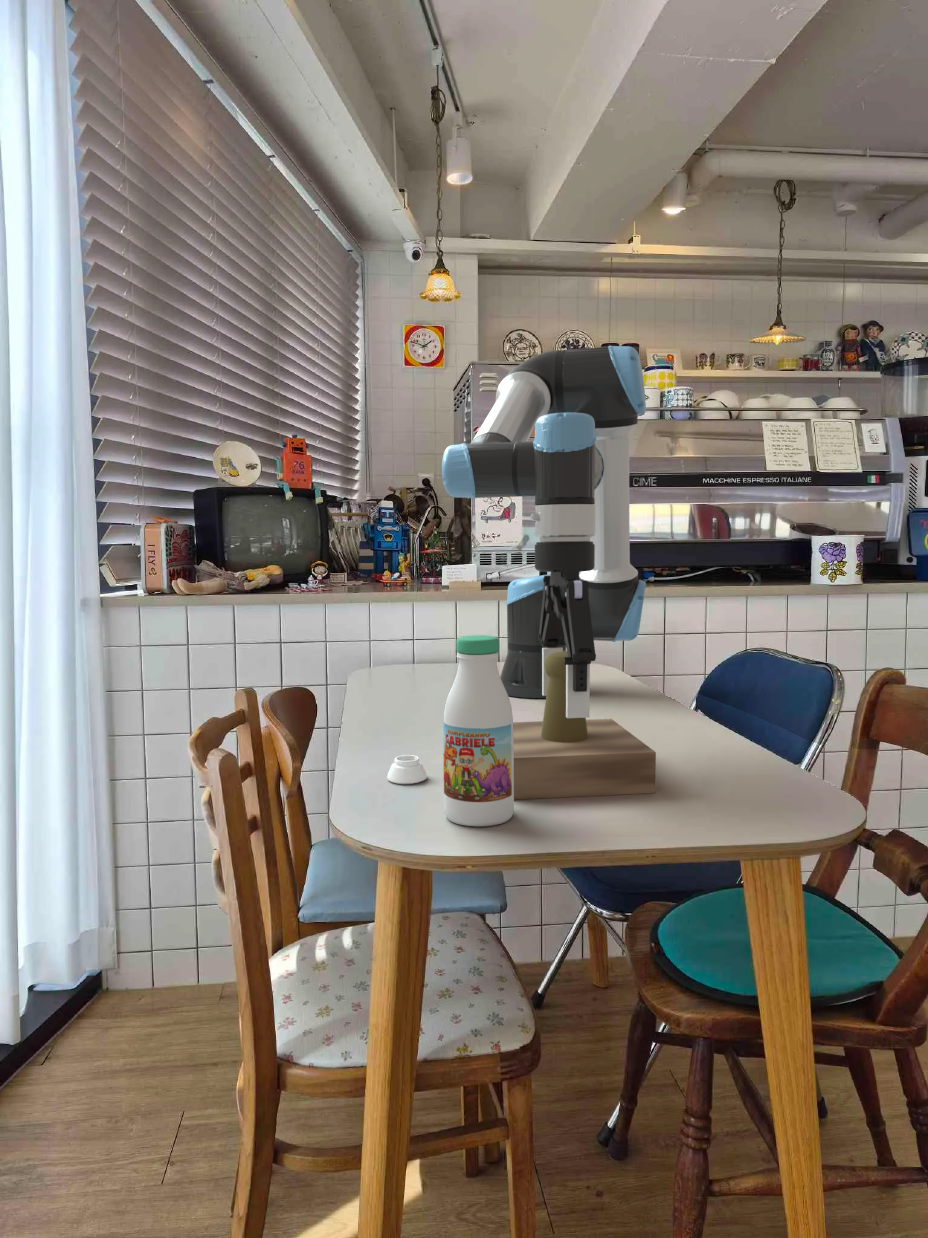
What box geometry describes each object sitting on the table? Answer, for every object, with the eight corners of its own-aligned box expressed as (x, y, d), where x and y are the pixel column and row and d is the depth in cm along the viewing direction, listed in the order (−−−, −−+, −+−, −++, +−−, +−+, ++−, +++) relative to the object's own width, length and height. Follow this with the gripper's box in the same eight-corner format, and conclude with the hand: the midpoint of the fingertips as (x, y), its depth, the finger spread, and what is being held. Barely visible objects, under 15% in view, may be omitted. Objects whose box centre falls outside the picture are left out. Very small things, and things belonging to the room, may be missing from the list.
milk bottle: (448, 804, 94) (446, 632, 92) (515, 805, 93) (514, 632, 91) (439, 827, 86) (437, 641, 84) (512, 829, 85) (511, 641, 83)
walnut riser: (485, 758, 113) (485, 723, 112) (611, 753, 115) (611, 718, 114) (507, 800, 95) (506, 758, 94) (655, 792, 97) (655, 752, 96)
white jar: (387, 775, 106) (387, 787, 101) (387, 753, 105) (386, 764, 100) (426, 774, 106) (427, 786, 101) (425, 752, 106) (427, 762, 101)
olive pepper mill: (586, 743, 101) (587, 656, 100) (538, 741, 102) (538, 655, 101) (589, 731, 107) (589, 649, 105) (543, 730, 108) (543, 648, 107)
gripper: (517, 539, 114) (518, 688, 116) (558, 540, 89) (557, 729, 91) (569, 538, 114) (569, 686, 117) (624, 539, 90) (622, 727, 92)
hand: (564, 705), depth 104 cm, fingers open, 13 cm apart
